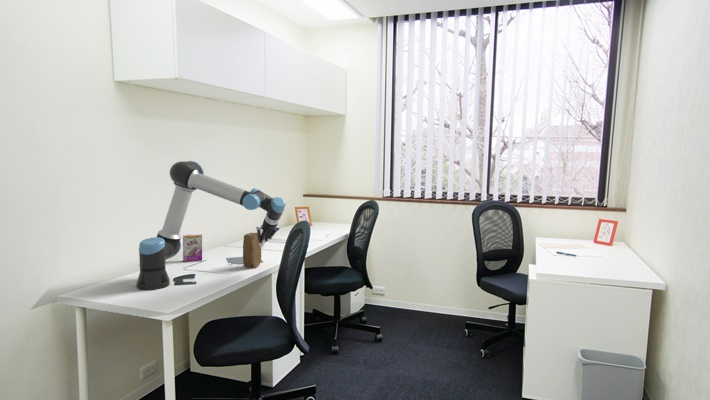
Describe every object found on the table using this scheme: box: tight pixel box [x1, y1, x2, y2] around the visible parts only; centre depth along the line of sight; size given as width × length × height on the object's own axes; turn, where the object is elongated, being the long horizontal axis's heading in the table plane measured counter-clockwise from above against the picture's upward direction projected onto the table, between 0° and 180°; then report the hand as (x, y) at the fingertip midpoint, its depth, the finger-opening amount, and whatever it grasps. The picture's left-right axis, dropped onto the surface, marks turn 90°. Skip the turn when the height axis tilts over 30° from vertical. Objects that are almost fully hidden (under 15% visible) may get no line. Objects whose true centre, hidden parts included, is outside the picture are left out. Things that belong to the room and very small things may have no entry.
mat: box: [226, 256, 264, 265], centre depth 273 cm, size 20×18×1 cm
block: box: [242, 232, 262, 269], centre depth 258 cm, size 11×8×20 cm
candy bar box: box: [182, 233, 203, 263], centre depth 270 cm, size 11×5×16 cm, turn 111°
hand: (260, 245), depth 248 cm, fingers closed
